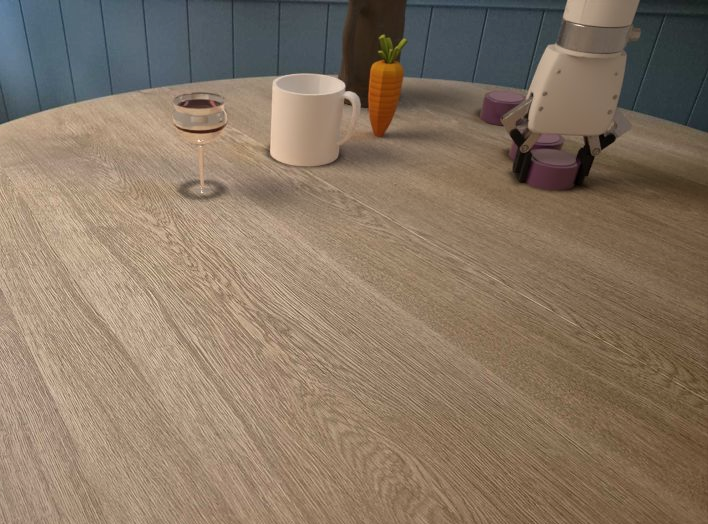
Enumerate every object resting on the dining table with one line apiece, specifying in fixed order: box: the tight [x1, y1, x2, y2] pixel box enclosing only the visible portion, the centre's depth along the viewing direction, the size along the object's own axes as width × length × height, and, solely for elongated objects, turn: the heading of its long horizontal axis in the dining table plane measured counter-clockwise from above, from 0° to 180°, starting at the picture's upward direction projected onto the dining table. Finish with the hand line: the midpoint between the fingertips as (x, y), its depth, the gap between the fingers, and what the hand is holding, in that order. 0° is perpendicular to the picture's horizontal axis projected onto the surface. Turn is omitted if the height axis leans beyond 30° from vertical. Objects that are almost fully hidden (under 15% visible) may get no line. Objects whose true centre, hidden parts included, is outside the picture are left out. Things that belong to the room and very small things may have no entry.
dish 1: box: [479, 90, 527, 127], centre depth 109 cm, size 7×7×4 cm
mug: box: [269, 73, 362, 167], centre depth 93 cm, size 13×10×10 cm
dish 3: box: [523, 149, 581, 191], centre depth 89 cm, size 7×7×4 cm
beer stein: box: [337, 0, 408, 108], centre depth 111 cm, size 15×11×20 cm
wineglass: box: [171, 91, 229, 194], centre depth 83 cm, size 7×7×12 cm
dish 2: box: [508, 128, 565, 161], centre depth 95 cm, size 7×7×4 cm
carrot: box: [368, 35, 409, 138], centre depth 98 cm, size 5×5×15 cm
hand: (547, 178), depth 89 cm, fingers closed on dish 3, 6 cm apart
